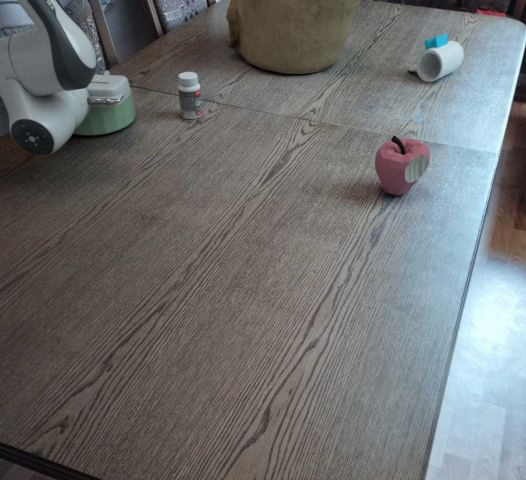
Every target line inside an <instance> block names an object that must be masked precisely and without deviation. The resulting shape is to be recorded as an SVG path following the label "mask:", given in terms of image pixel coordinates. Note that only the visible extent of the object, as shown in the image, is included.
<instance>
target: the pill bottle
mask: <svg viewBox="0 0 526 480" xmlns="http://www.w3.org/2000/svg"><path fill="white" fill-rule="evenodd" d="M177 76H178V83H179V84H178V86H177V90H178V91H177V92H178V99H179V100H178V101H179V109H180V110H179V111H180V116H181V117H182V118H183V119H187V120H197V119H199V118H201V117H202V116H203V105H202V91H201V85H200V83H199V77H198V73H196V72H194V71H183V72H181V73H179V74H178V75H177Z"/></svg>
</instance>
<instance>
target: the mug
mask: <svg viewBox="0 0 526 480" xmlns="http://www.w3.org/2000/svg"><path fill="white" fill-rule="evenodd" d="M424 46H425V47H424V49H425V50H423V51H422V52H421V53H420V54H419V55H418V57H417V60H416V63H415V64H413V65H411V66H410V67H409V68H408V71H409V72H412V73H413V72H414V73H415V72H417V75H418V77H419V78H420V79H421V80H422V81H423V82H426V83H432V82H435V81H437V80H439V79H441V78H443V77H446V76H447V75H449V74H451V73H453V72H455V71H457V70H458V69H459V68H460V67H461V65H462V63H463V61H464V56H465V53H464V49H463V47H462V44H460V43H459V42H458V41H456V40H449V39H448V33H444V34H441V35H436V36H434V37H431V38H428V39H425V40H424Z"/></svg>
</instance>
